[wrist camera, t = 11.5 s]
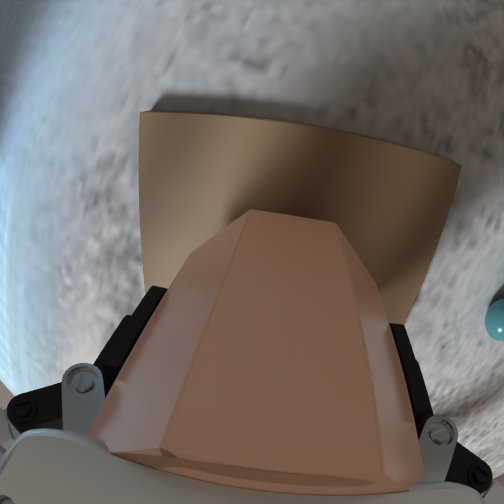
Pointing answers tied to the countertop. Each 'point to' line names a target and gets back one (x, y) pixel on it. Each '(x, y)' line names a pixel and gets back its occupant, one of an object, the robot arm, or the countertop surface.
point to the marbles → (495, 320)
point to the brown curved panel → (290, 192)
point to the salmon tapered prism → (268, 369)
